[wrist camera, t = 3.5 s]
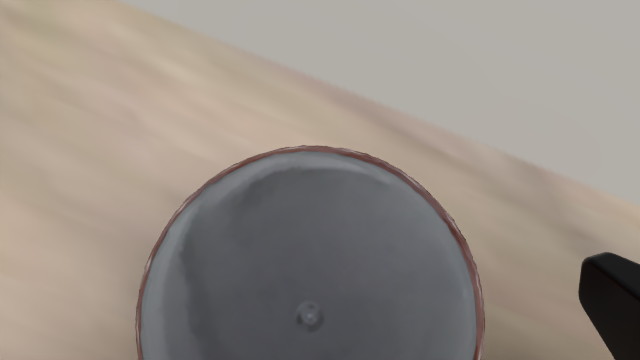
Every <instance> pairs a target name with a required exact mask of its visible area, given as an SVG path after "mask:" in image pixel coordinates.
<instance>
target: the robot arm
mask: <svg viewBox="0 0 640 360" xmlns="http://www.w3.org/2000/svg"><path fill="white" fill-rule="evenodd" d="M578 293H579V300H580V303H581V305H582V307H583V309H584V310H585V312H586V314H587V315H588V317H589V318H590V320H591V322H592V323H593V325H594V326H595V328H596V330H597V331H598V333H599V335H600V336H601V338H602V339H603V341H604V343H605V344H606V346H607V347H608V349H609V351H610V352H611V354H612V355H613V357H614V359H615V360H640V264H638V263H635V262H633V261H630V260H628V259H626V258H623V257H621V256H618V255H616V254H613V253H609V252H605V253H601V254H597V255H594V256H591V257H587V258H585V259H584V261H583V262H582V266H581V274H580V283H579V291H578Z"/></svg>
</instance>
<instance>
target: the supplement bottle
mask: <svg viewBox="0 0 640 360" xmlns="http://www.w3.org/2000/svg"><path fill="white" fill-rule="evenodd" d="M484 329H485V318H484V302H483V298H482V290H481V285H480V279H479V275H478V272H477V267H476V264H475V262H474V261H473V257H472V255H471V252H470V250H469V247H468V244H467V242H466V239H465V238H464V237H463V235H462V234H461V232H460V230H459V229H458V227H457V226H456V224H455V221H454V219H453V218H452V217H451V216H450V215H449V214H448V213H447V212H446V211H445V210H444V209H443V207H442V206H441V205H440V204H439V202H438V201H437V200H436V199H434V198H433V196H432V195H431V194H430V193H429V192H428V191H427V190H426V189H425V188H424V187H423V186H422V185H420V184H419V183H418V182H417V181H415V180H414V179H413V178H411V177H410V176H408V175H407V174H406V173H404V172H403V171H402V170H400V169H398V168H396V167H394V166H392V165H390V164H389V163H387V162H385V161H383V160H381V159H379V158H376V157H372V156H370V155H368V154H366V153H361V152H357V151H353V150H350V149H346V148H333V147H328V146H306V145H302V146H298V147H286V148H280V149H277V150H273V151H270V152H267V153H263V154H259V155H256V156H253V157H251V158H248V159H246V160H244V161H241V162H239V163H237V164H234V165H232V166H231V167H229V168H227V169H225V170H223V171H221V172H220V173H219V174H217V175H216V176H215V177H213V178H212V179H210V180H209V181H207V182H206V183H205V184H204V185H203V186H202V187H201V188H200V189H198V190H197V191H196V192H195V193H193V194H192V195H191V196H189V197H188V198H187V199H186V200H185V202H184V203H183V204H182V206H181V207H180V208H179V209H178V210H177V211H176V212H175V214H174V215H173V216H172V218H171V219H170V221H169V222H168V224H167V226H166V227H165V229H164V230H163V232H162V234H161V236H160V237H159V239H158V241H157V243H156V245H155V246H154V248H153V250H152V252H151V255H150V257H149V259H148V261H147V264H146V266H145V271H144V274H143V277H142V282H141V286H140V290H139V299H138V303H137V308H136V341H137V350H138V358H139V360H481V358H482V354H483V348H484Z"/></svg>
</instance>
